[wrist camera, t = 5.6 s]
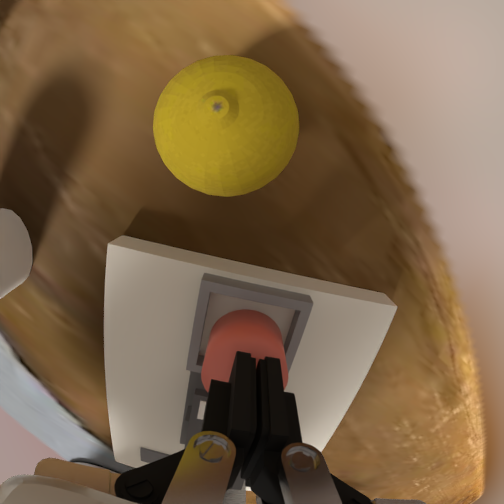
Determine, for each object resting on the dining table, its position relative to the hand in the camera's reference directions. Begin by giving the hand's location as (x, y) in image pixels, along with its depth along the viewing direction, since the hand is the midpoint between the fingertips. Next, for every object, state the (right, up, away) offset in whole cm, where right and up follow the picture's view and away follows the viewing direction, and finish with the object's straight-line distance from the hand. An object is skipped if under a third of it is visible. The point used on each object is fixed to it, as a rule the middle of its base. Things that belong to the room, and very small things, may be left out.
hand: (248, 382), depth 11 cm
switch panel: (-2, -5, +8) cm, 10 cm away
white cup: (-18, +6, +6) cm, 19 cm away
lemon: (-1, +11, +4) cm, 12 cm away
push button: (0, +1, +4) cm, 4 cm away
